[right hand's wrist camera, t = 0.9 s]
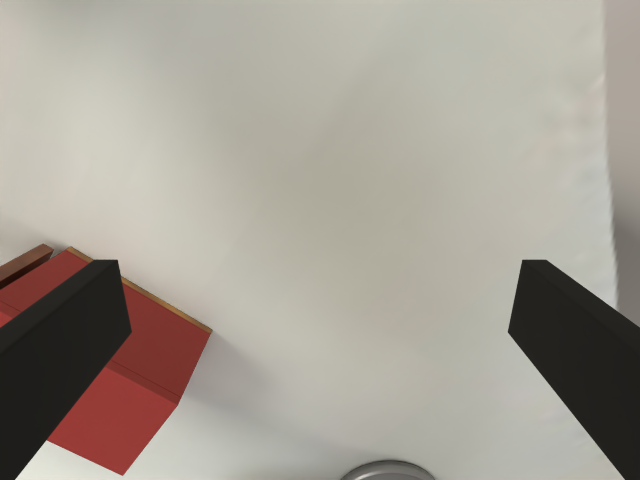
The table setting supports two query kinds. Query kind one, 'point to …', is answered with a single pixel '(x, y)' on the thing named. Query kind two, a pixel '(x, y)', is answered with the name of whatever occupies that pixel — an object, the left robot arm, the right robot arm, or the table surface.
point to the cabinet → (119, 368)
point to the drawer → (24, 264)
